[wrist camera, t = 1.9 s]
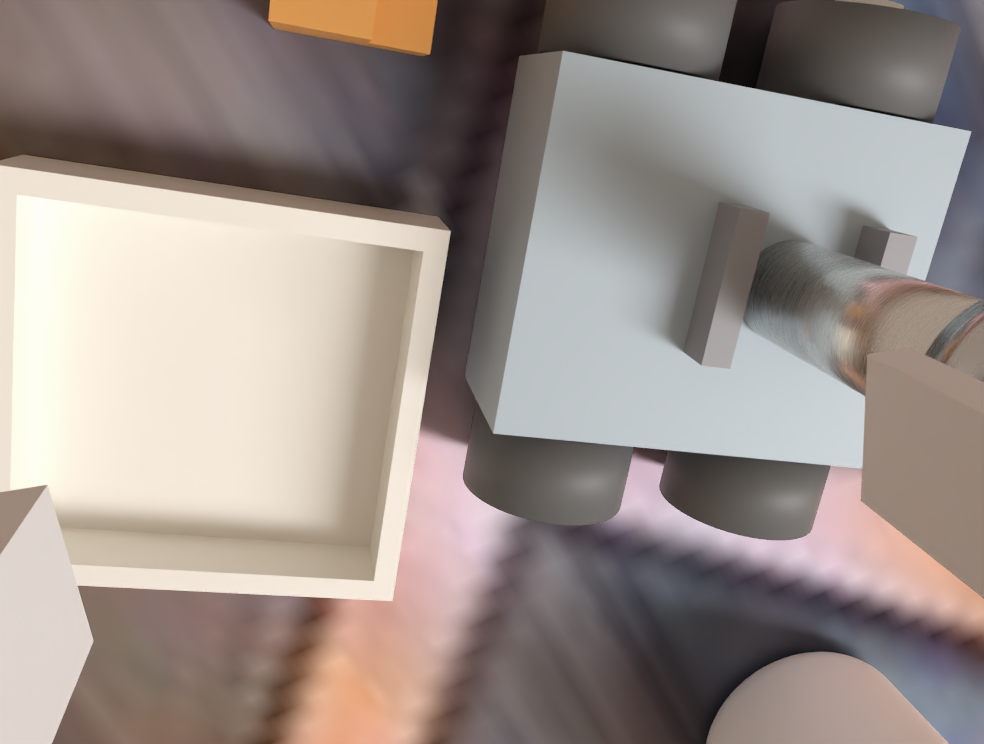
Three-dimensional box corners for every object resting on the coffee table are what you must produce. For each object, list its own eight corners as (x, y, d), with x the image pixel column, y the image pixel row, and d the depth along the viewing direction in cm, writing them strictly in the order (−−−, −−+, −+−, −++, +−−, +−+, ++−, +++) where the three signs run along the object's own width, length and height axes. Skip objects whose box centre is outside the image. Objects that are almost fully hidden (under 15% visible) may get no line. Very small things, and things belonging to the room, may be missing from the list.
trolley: (452, 449, 36) (485, 540, 29) (537, -55, 31) (603, -95, 24) (766, 478, 39) (865, 565, 32) (892, 25, 34) (1044, 11, 27)
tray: (14, 533, 33) (-18, 580, 30) (22, 154, 30) (-13, 163, 26) (385, 555, 37) (392, 601, 33) (437, 216, 33) (450, 231, 30)
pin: (706, 349, 30) (912, 491, 19) (740, 211, 28) (979, 285, 18) (828, 364, 31) (1085, 506, 20) (866, 231, 30) (1160, 313, 19)
